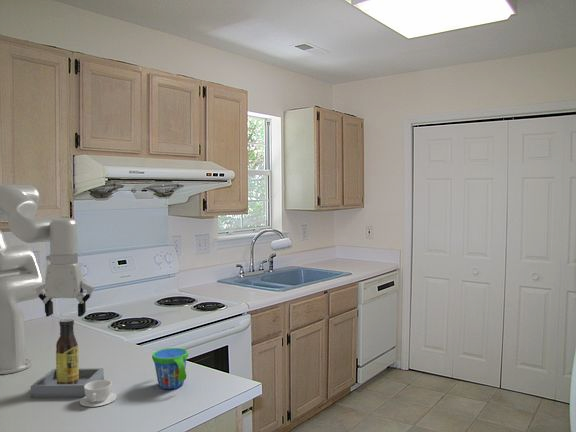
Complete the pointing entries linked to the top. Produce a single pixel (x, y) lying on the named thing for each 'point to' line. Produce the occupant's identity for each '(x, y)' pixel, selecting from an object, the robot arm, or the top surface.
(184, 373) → the snack cup
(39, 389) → the tray
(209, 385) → the top surface
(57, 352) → the sauce bottle
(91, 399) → the teacup
